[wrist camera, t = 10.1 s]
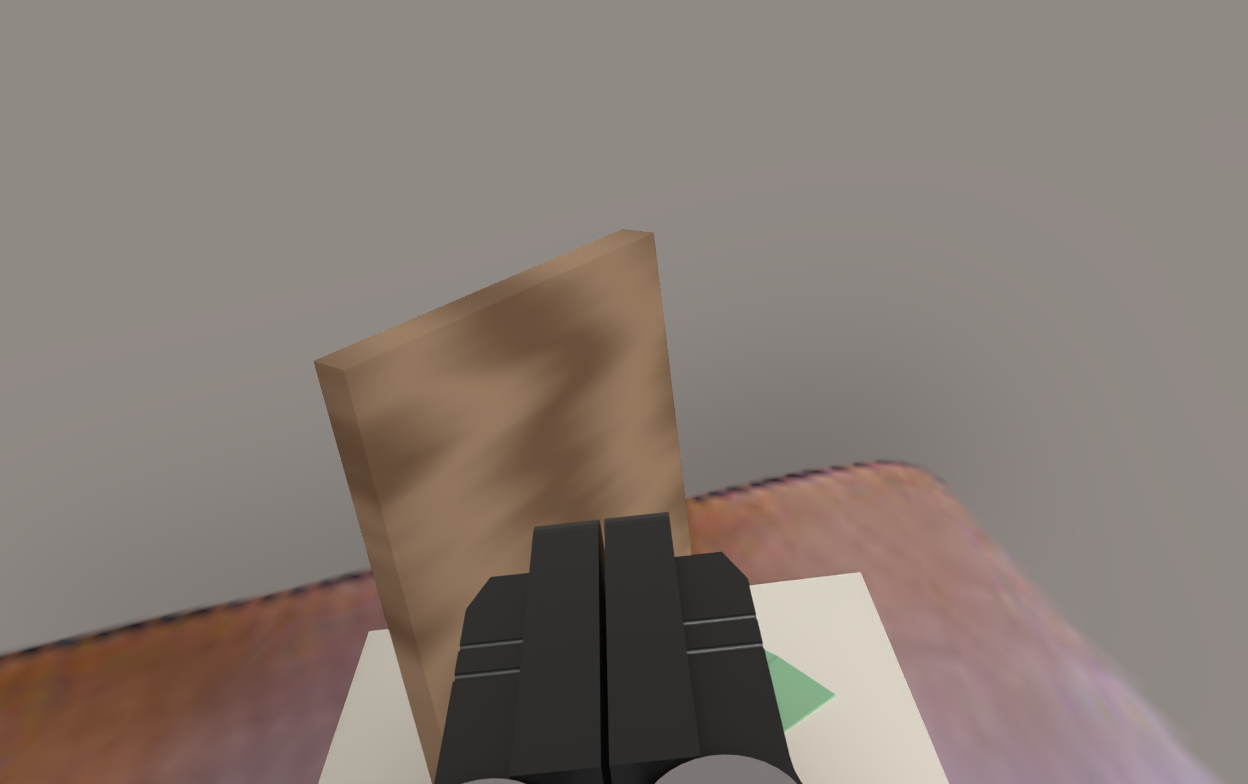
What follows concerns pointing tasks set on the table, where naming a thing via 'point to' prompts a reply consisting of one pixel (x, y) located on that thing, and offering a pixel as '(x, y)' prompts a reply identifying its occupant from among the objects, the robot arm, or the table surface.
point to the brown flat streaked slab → (503, 440)
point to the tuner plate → (801, 675)
